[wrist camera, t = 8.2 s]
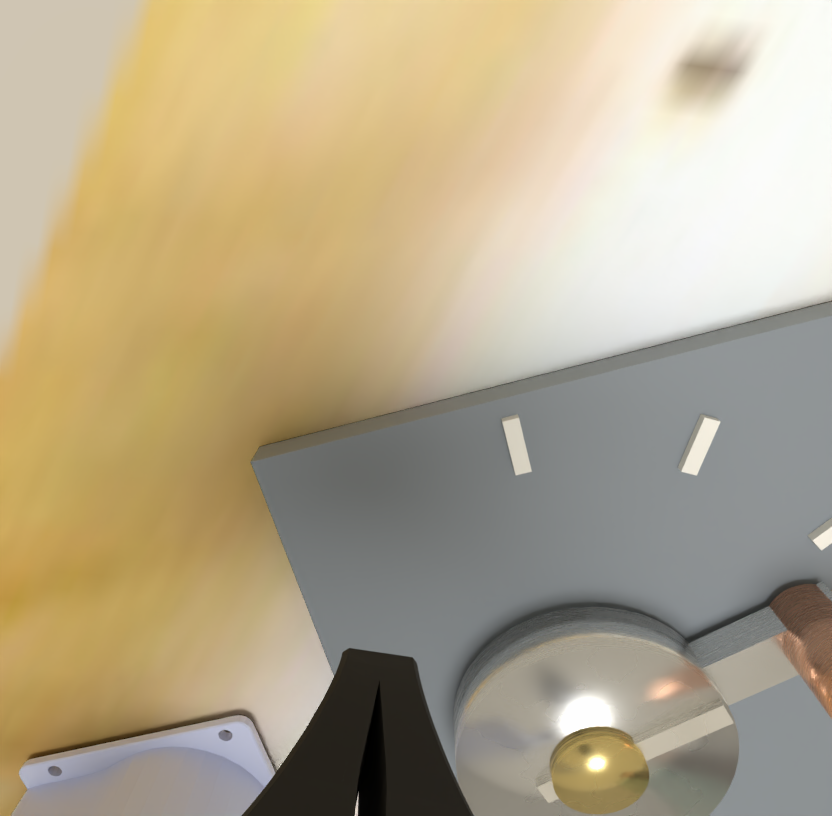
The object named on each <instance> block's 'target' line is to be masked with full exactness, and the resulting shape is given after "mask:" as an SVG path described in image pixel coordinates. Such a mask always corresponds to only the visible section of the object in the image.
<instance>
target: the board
mask: <svg viewBox="0 0 832 816" xmlns="http://www.w3.org/2000/svg"><path fill="white" fill-rule="evenodd" d="M251 464H252V467H253V469H254V472H255V475H256V477H257V480H258V482H259V485H260V487H261V490H262V493H263V495H264V498H265V500H266V503H267V505H268V508H269V511H270V513H271V516H272V518H273V521H274V523H275V526H276V529H277V531H278V534H279V536H280V539H281V541H282V544H283V546H284V549H285V552H286V554H287V557H288V559H289V562H290V564H291V567H292V570H293V572H294V575H295V577H296V580H297V582H298V585H299V588H300V590H301V593H302V595H303V598H304V600H305V603H306V605H307V608H308V611H309V613H310V616H311V618H312V621H313V623H314V626H315V629H316V631H317V634H318V636H319V639H320V641H321V644H322V647H323V649H324V652H325V654H326V657H327V659H328V662H329V664H330V667H331V670H332V672H333V675H334V676H335V674H336V671H337V669H338V666H339V663H340V660H341V656H342V652H343V651H345V650H347V649H348V648H354V649H360V650H367V651H374V652H381V653H387V654H394V655H401V656H408V657H413V658H414V660H415V661H416V662H417V666H418V671H419V676H420V680H421V684H422V688H423V692H424V695H425V699H426V702H427V705H428V708H429V711H430V714H431V717H432V720H433V723H434V726H435V729H436V731H437V734H438V736H439V739H440V742H441V744H442V747H443V749H444V752H445V755H446V757H447V759H448V762H449V764H450V766H451V769H452V771H453V773H454V775H455V778H456V780H457V771H456V758H455V738H454V718H453V717H454V703H455V699H456V695H457V691H458V688H459V686H460V683H461V681H462V678H463V676H464V675H465V673H466V671H467V670H468V668H469V666H470V665H471V663H472V662H473V661H474V660H475V658H476V657H477V656H478V655H479V653H480V652H481V651H482V650H483V649H484V648H486V647H487V646H488V645H489V644H490V643H491V642H492V641H493V640H495V639H496V638H497V637H499V636H500V635H501V634H503V633H504V632H506V631H507V630H509V629H511V628H513V627H514V626H516V625H518V624H520V623H522V622H524V621H527V620H529V619H531V618H534V617H536V616H539V615H543V614H546V613H549V612H553V611H558V610H563V609H568V608H577V607H609V608H616V609H623V610H628V611H631V612H635V613H639V614H642V615H645V616H647V617H650V618H652V619H655V620H657V621H659V622H661V623H663V624H664V625H666V626H668V627H670V628H671V629H673V630H674V631H675V632H677V633H678V634H679V635H681V636H682V637H683V638H684V639H685V640H686V641H687V642H688V643H690V642H692V641H694V640H697V639H699V638H701V637H703V636H705V635H707V634H710V633H712V632H714V631H716V630H718V629H720V628H722V627H725V626H727V625H729V624H731V623H733V622H735V621H738V620H740V619H742V618H744V617H746V616H748V615H751V614H753V613H755V612H757V611H759V610H761V609H764V608H766V607H768V606H769V605H770V603H771V602H772V601H773V600H774V599H775V598H776V597H777V596H778V595H779V594H780V593H782V592H783V591H785V590H787V589H789V588H791V587H794V586H797V585H802V584H818V583H820V582H823V583H824V584H825V585H826V586H827V587H828V588H829V589H830V590H831V591H832V301H831V302H827V303H823V304H819V305H815V306H811V307H807V308H803V309H799V310H795V311H791V312H787V313H783V314H779V315H776V316H772V317H768V318H764V319H760V320H756V321H752V322H748V323H744V324H740V325H736V326H732V327H728V328H724V329H721V330H717V331H713V332H709V333H705V334H701V335H697V336H693V337H689V338H685V339H681V340H677V341H673V342H669V343H666V344H662V345H658V346H654V347H650V348H646V349H642V350H638V351H634V352H630V353H626V354H622V355H618V356H614V357H610V358H607V359H603V360H599V361H595V362H591V363H587V364H583V365H579V366H575V367H571V368H567V369H563V370H559V371H555V372H552V373H548V374H544V375H540V376H536V377H532V378H528V379H524V380H520V381H516V382H512V383H508V384H504V385H500V386H497V387H493V388H489V389H485V390H481V391H477V392H473V393H469V394H465V395H461V396H457V397H453V398H449V399H445V400H442V401H438V402H434V403H430V404H426V405H422V406H418V407H414V408H410V409H406V410H402V411H398V412H394V413H390V414H387V415H383V416H379V417H375V418H371V419H367V420H363V421H359V422H355V423H351V424H347V425H343V426H339V427H335V428H332V429H328V430H324V431H320V432H316V433H312V434H308V435H304V436H300V437H296V438H292V439H288V440H284V441H280V442H276V443H273V444H269V445H265V446H261V447H259V449H258V450H257V452H256V454H255V456H254V457H253V459H252V461H251ZM728 707H729V709H730V711H731V713H732V715H733V718H734V720H735V724H736V727H737V731H738V738H739V758H738V764H737V768H736V772H735V775H734V778H733V780H732V782H731V785H730V787H729V789H728V791H727V792H726V794H725V796H724V797H723V799H722V801H721V802H720V803H719V804H718V806H717V807H716V808H715V809H714V810H713V812H712V813H711V814H710V815H709V816H832V719H831V717H830V716H829V715H828V713H827V712H826V711H825V709H824V708H823V707H822V705H821V704H820V702H819V701H818V700H817V698H816V697H815V696H814V694H813V693H812V691H811V690H810V689H809V687H808V686H807V685H806V683H805V682H804V681H803V679H802V678H801V676H800V675H797V676H795V677H793V678H790V679H788V680H786V681H784V682H781V683H779V684H777V685H775V686H772V687H770V688H768V689H765V690H763V691H761V692H759V693H756V694H754V695H752V696H749V697H747V698H745V699H743V700H740V701H738V702H736V703H733V704H731V705H729V706H728ZM457 782H458V780H457ZM458 784H459V783H458ZM473 815H474V814H473Z"/></svg>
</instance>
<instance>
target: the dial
mask: <svg viewBox="0 0 832 816" xmlns="http://www.w3.org/2000/svg"><path fill="white" fill-rule="evenodd" d="M797 675H800V676H801V678H802V679H803V681H804V682H805V683H806V685H807V686H808V687H809V689H810V690H811V691H812V693H813V694H814V696H815V697H816V698H817V700H818V701H819V702H820V704H821V705H822V707H823V708H824V709H825V711H826V712H827V713H828V715H829V716H830V717H831V719H832V591H831V590H830V589H829V588H828V587H827V586H826V585H825V584H824V583H823V582H820V583H818V584H802V585H797V586H794V587H791V588H789V589H787V590H785V591H783V592H782V593H780V594H779V595H778V596H777V597H776V598H775V599H774V600H773V601H772V602H771V603H770V605H769V606H768V607H766V608H764V609H761V610H759V611H757V612H755V613H753V614H751V615H748V616H746V617H744V618H742V619H740V620H738V621H735V622H733V623H731V624H729V625H727V626H725V627H722V628H720V629H718V630H716V631H714V632H712V633H710V634H707V635H705V636H703V637H701V638H699V639H697V640H694V641H692V642H690V643H688V642H687V641H686V640H685V639H684V638H683V637H682V636H681V635H679V634H678V633H677V632H675V631H674V630H673V629H671V628H670V627H668V626H666V625H664V624H663V623H661V622H659V621H657V620H655V619H652V618H650V617H647V616H645V615H642V614H639V613H635V612H631V611H628V610H623V609H616V608H609V607H577V608H568V609H563V610H558V611H553V612H549V613H546V614H543V615H539V616H536V617H534V618H531V619H529V620H527V621H524V622H522V623H520V624H518V625H516V626H514V627H513V628H511V629H509V630H507V631H506V632H504V633H503V634H501V635H500V636H499V637H497V638H496V639H495V640H493V641H492V642H491V643H490V644H489V645H488V646H487V647H486V648H484V649H483V650H482V651H481V652H480V653H479V655H478V656H477V657H476V658H475V660H474V661H473V662H472V663H471V665H470V666H469V668H468V670H467V671H466V673H465V675H464V676H463V678H462V681H461V683H460V686H459V688H458V691H457V695H456V699H455V703H454V717H453V718H454V738H455V758H456V771H457V780H458V783H459V786H460V788H461V791H462V793H463V795H464V797H465V799H466V801H467V803H468V805H469V807H470V809H471V811H472V813H473V814H474V816H709V815H710V814H711V813H712V812H713V810H714V809H715V808H716V807H717V806H718V804H719V803H720V802H721V801H722V799H723V797H724V796H725V794H726V792H727V791H728V789H729V787H730V785H731V782H732V780H733V778H734V775H735V772H736V768H737V764H738V758H739V738H738V731H737V727H736V724H735V720H734V718H733V715H732V713H731V711H730V709H729V707H728V706H729V705H731V704H733V703H736V702H738V701H740V700H743V699H745V698H747V697H749V696H752V695H754V694H756V693H759V692H761V691H763V690H765V689H768V688H770V687H772V686H775V685H777V684H779V683H781V682H784V681H786V680H788V679H790V678H793V677H795V676H797Z"/></svg>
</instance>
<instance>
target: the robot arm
mask: <svg viewBox="0 0 832 816" xmlns="http://www.w3.org/2000/svg"><path fill="white" fill-rule="evenodd" d="M223 730H228V731H230V732H231V733H228V732H225V731H223ZM19 775H20V778H21V780H22V781H23V783H24V784H25V786H26V788H27V789H28V790H27V791H26V792H25V794H24V795H23V797H22V799H21V800H20V802H19V803H18V805H17V806H16V808H15V809H14V811H13V813H12V814H11V816H354V815H355V806H356V801H357V796H358V792H359V800H358V816H474V815H473V813H472V811H471V809H470V807H469V805H468V803H467V801H466V799H465V797H464V795H463V793H462V791H461V788H460V786H459V784H458V782H457V780H456V778H455V775H454V773H453V771H452V769H451V766H450V764H449V762H448V759H447V757H446V755H445V752H444V749H443V747H442V744H441V742H440V739H439V736H438V734H437V731H436V729H435V726H434V723H433V720H432V717H431V714H430V711H429V708H428V705H427V702H426V699H425V695H424V692H423V688H422V684H421V680H420V676H419V671H418V666H417V662H416V661H415V660H414V658H413V657H408V656H401V655H394V654H387V653H381V652H374V651H367V650H360V649H354V648H348V649H347V650H345V651H343V652H342V656H341V660H340V663H339V666H338V669H337V671H336V674H335V676H334V678H333V680H332V683H331V685H330V687H329V689H328V691H327V693H326V695H325V697H324V699H323V700H322V702H321V704H320V706H319V707H318V709H317V711H316V712H315V714H314V716H313V718H312V719H311V721H310V723H309V725H308V726H307V728H306V729H305V731H304V733H303V734H302V736H301V737H300V739H299V740H298V742H297V743H296V745H295V746H294V748H293V749H292V751H291V752H290V753H289V755H288V756H287V758H286V759H285V761H284V762H283V764H282V765H281V767H280V768H279V769H278V771H277V772H276V773H275V771H274V768H273V766H272V764H271V762H270V760H269V757H268V755H267V753H266V751H265V749H264V746H263V744H262V742H261V740H260V737H259V735H258V733H257V731H256V729H255V726H254V724H253V722H252V721H251V720H250V719H249V718H247V717H246V716H242V715H236V716H231V717H226V718H222V719H217V720H212V721H207V722H203V723H198V724H193V725H189V726H184V727H179V728H174V729H170V730H165V731H160V732H156V733H151V734H146V735H141V736H137V737H132V738H127V739H123V740H118V741H113V742H108V743H104V744H99V745H94V746H90V747H85V748H80V749H75V750H71V751H66V752H61V753H57V754H52V755H47V756H43V757H38V758H33V759H29V760H27V761H26V762H25V763H24V764H23V766H22V767H21V769H20V771H19Z"/></svg>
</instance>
